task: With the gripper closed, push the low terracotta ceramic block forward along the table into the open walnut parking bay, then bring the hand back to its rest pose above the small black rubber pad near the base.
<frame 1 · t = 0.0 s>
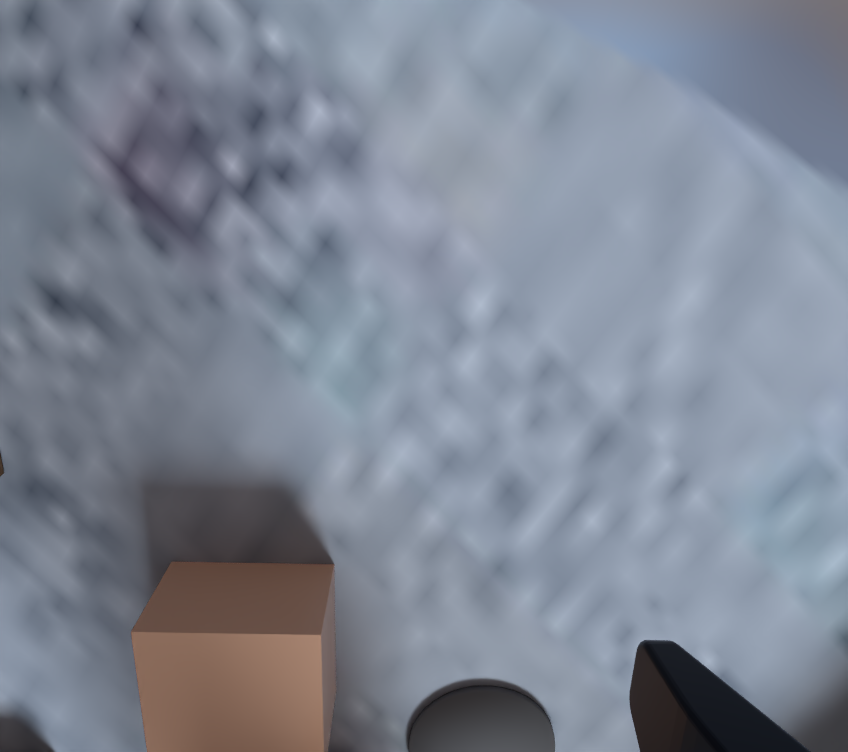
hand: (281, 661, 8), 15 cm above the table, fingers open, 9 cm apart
terracotta block: (258, 626, 26), on the table
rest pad: (481, 743, 28), on the table
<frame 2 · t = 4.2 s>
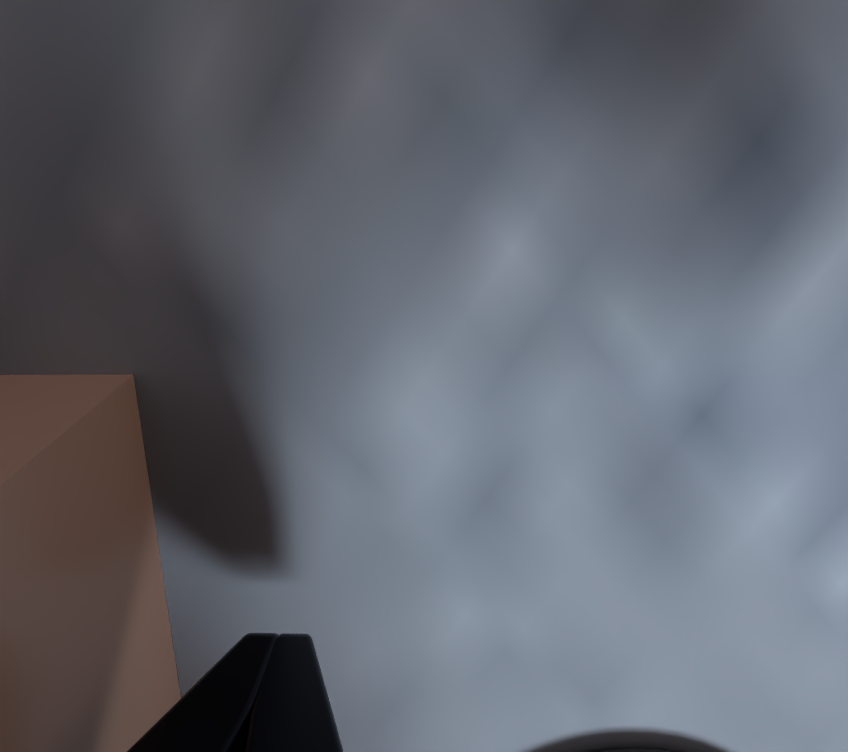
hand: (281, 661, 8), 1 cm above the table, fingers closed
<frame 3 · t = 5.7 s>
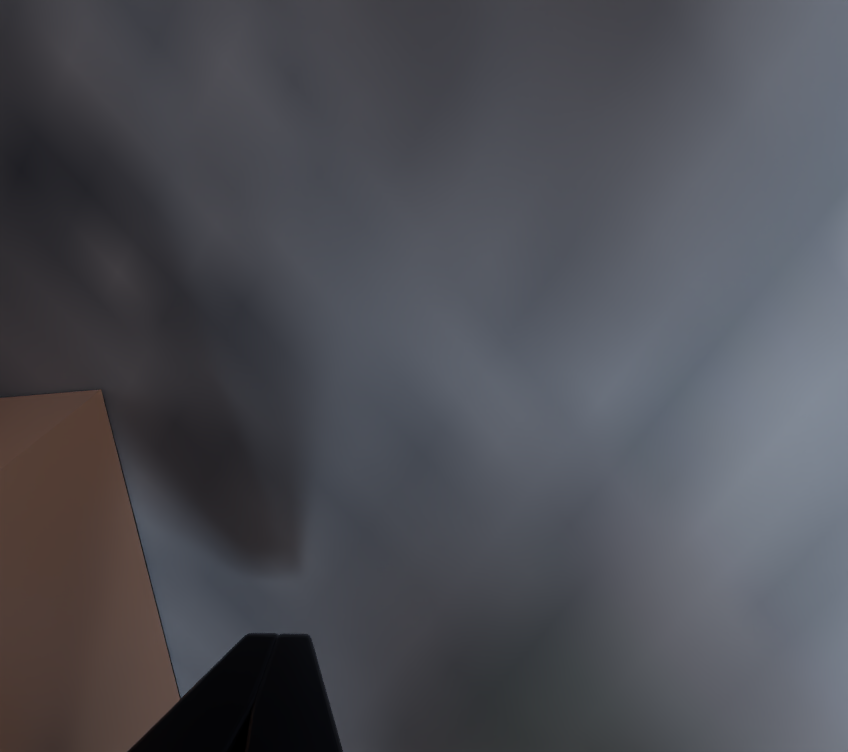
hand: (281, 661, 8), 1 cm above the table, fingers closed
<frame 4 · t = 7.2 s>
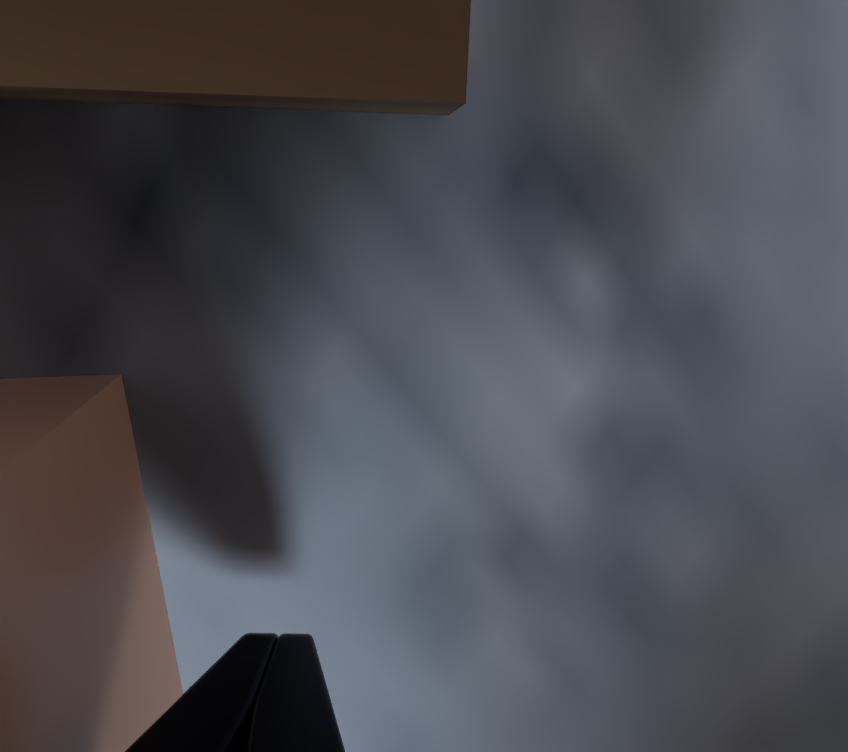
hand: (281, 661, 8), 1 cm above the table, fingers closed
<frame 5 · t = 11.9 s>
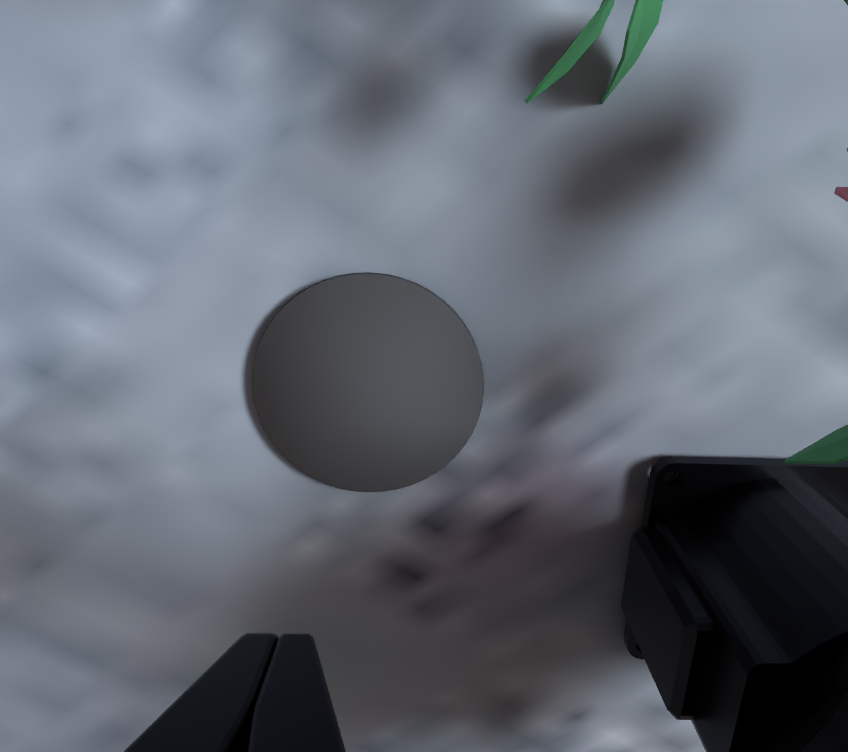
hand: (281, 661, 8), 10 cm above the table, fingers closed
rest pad: (369, 385, 18), on the table
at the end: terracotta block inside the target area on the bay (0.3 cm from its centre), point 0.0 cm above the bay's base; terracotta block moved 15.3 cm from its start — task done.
